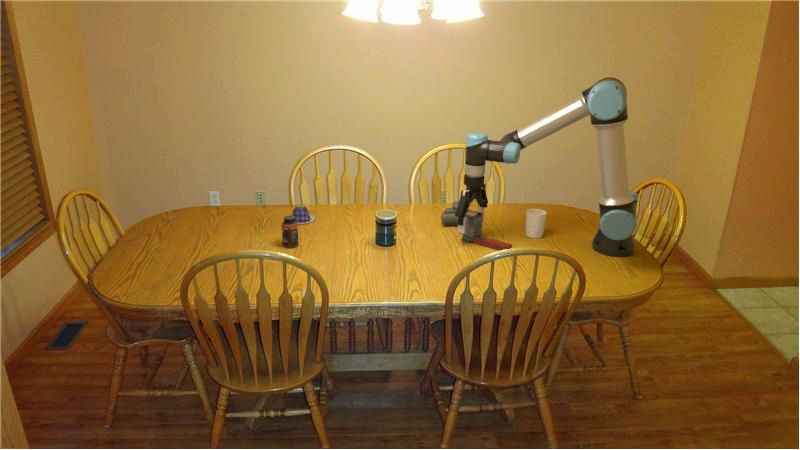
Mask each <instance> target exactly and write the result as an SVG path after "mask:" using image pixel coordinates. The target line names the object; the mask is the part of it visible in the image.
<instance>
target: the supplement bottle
mask: <svg viewBox="0 0 800 450" xmlns="http://www.w3.org/2000/svg"><path fill="white" fill-rule="evenodd" d="M291 215H292V214H291ZM291 215H285V216H283V222H282V223H281V235H282V236H281V237H282V238H281V239H282V246H283V247H285V248H287V249H293V248H296V247H298V246H299V244H300V242H299V227H298V225H299V224H297V222H296V221H295V217H294V216H291Z"/></svg>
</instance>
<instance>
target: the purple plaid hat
mask: <svg viewBox="0 0 800 450" xmlns="http://www.w3.org/2000/svg"><path fill="white" fill-rule="evenodd" d="M291 216H294V217H295V221H296V222H297V224H298V225H303V224H309V223H312V222H314V221H315V220H316V216H314V215H313V214H310V211H309V209H308V207H305V206H296V207H294V208H293V209H292V214H291Z"/></svg>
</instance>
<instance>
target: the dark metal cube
mask: <svg viewBox="0 0 800 450" xmlns="http://www.w3.org/2000/svg"><path fill="white" fill-rule="evenodd" d="M465 217H466V225H465V234H463V233H459V232H458V234H460V235H462V234H463V235H466V236H470V237H475V236H477V235H481V234H482V232H483V224H482V222H483V223H484V220H483V213H480V212H477V210H471V209H470V210H467V213H466V215H465Z"/></svg>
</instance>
